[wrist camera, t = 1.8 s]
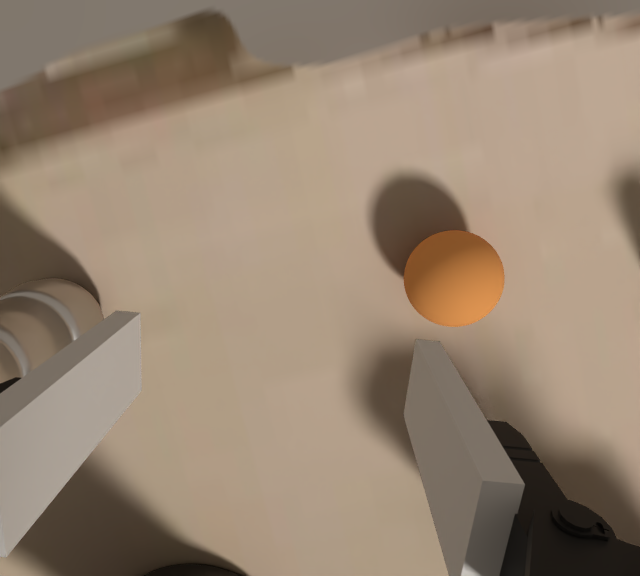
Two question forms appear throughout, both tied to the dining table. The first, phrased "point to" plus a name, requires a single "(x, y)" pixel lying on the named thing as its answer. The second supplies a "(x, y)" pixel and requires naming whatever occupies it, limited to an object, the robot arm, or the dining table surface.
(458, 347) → the dining table surface
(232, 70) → the dining table surface
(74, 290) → the plastic bottle
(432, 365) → the robot arm
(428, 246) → the ball
